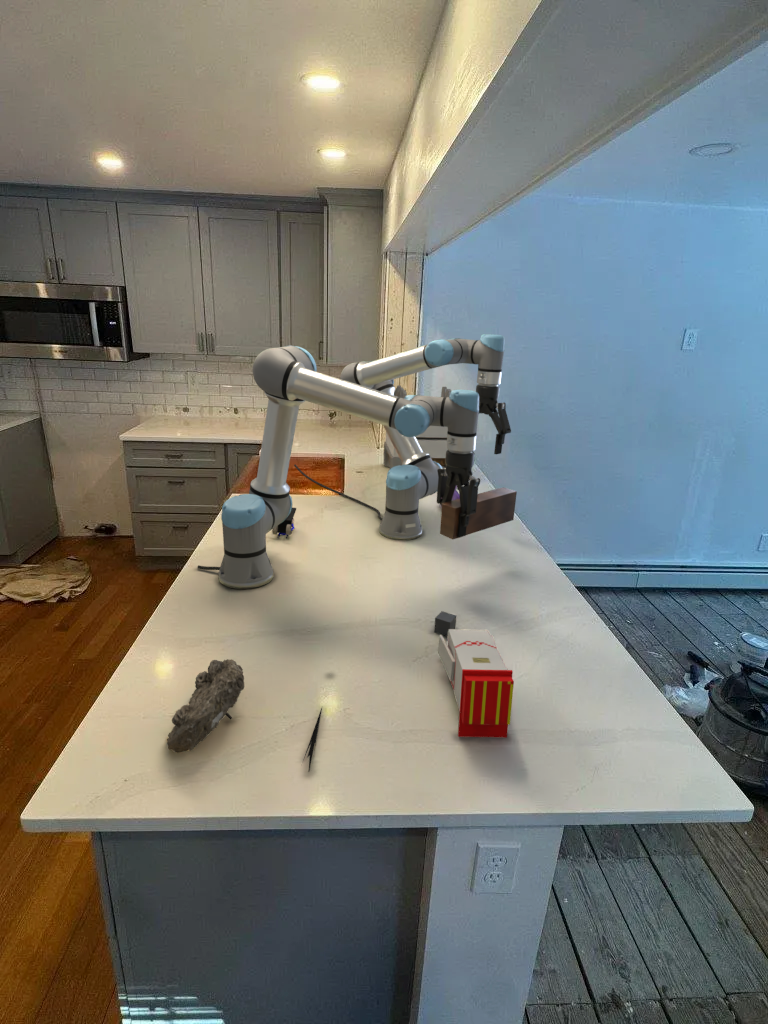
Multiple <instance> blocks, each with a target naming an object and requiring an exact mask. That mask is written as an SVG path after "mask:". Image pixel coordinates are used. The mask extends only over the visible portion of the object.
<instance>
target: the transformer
mask: <svg viewBox="0 0 768 1024" xmlns="http://www.w3.org/2000/svg"><path fill="white" fill-rule="evenodd" d="M451 391H452V389H451V388H447V386H442V387H441V392H440V393H441V394H440V397H449V396H450V393H451ZM407 394H408V393H407V390H406V389H404V388H403V387H402V385H399V384H398V385H397V386H396V387H395V391H394V396H397V397H399V398H403V399H404V398H405V397H406V396H407ZM447 432H448V427H441V426H429V427H428V428H427V429H426V430H425V432H423V433H422V434H420V435H418V436H415V437H416V439H417V441H418V443H419V445H420V447H421V449H422V451H423V452H424V453H427V454H429V455H430V457H431V459H432V461H435V462H436V463H439V464H440V465H441V466H442V468H446V466H447V465H446V463H445V458H446V451H447V450H448V449H447ZM398 465H401V466H402V461H401V459H400V458H399V456H398V454H397V452H396V450H395V448H394V446H393V444H392V442H391V440H390V438H389V436H388V434H387V432H386V431H385V438H384V442H383V466H384V467H388V468H389V470H390V469H391V468H392V467H395V466H398Z"/></svg>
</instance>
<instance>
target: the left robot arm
mask: <svg viewBox="0 0 768 1024" xmlns="http://www.w3.org/2000/svg"><path fill="white" fill-rule="evenodd" d="M316 363H317V362H316V360H315V358H314V357H313V355H312V354H311V353H310V352H309V351H308V350H307V349H306V348H303V347H301V346H297V345H291V344H289V345H285V346H279V347H269V348H267V349H264V350H263V351H261V352H260V353H258V355H257V356H256V357H255V359H254V361H253V363H252V376H253V380H254V382H255V384H256V385H257V386H258V387H259V389H260V390H262V391H263V393H264V395H265V396H266V398H267V400H268V402H267V407H266V413H265V414H266V415H265V420H264V428H263V434H262V441H261V446H260V447H261V448H260V454H259V462H258V467H257V474H256V477H255V478H254V479H252V480H251V481H250V484H249V491H248V493H242V494H239V495H234V496H231V497H230V498H228V499H226V500H225V501H224V502H223V504H222V507H221V516H220V517H221V524H222V525H221V526H222V541H223V542H222V543H223V557H222V560H221V562H220V566H203V565H197V567H196V568H197V569H198V570H202V571H203V570H204V571H218V581H219V583H220V584H221V585H223V586H225V587H227V588H230V589H234V590H235V589H236V590H249V589H256V588H260V587H263V586H265V585H267V584H268V583H270V582H271V581H272V580H273V578H274V568H273V565H272V561H271V558H270V556H269V554H268V552H267V534H268V533H270V531H272V530H273V528H275V527H276V526H278V525H279V524H280V523H282V522H283V521H284V520H285V519H286V518H287V517H288V515H289V514H290V512H291V509H292V508H293V497H292V496H291V494H290V491H291V487H290V485H289V484H288V483H287V479H288V473H289V467H290V462H291V456H292V451H293V444H294V439H295V433H296V429H297V421H298V416H299V410H300V406H301V404H303V403H305V402H308V403H312V404H315V405H317V406H318V405H319V406H321V407H324V408H328V409H331V410H333V411H337V412H341V413H342V414H343V413H344V414H347V415H350V416H353V417H356V418H359V419H363V420H365V421H369V422H372V423H374V424H375V423H376V424H379V425H382V426H383V425H385V426H388V427H391V428H394V429H397V431H398V432H399V433H400V434H402V435H403V436H405V437H415V436H418V435H420V434H422V433H423V432H425V430H426V429H427V428H428V427H429V426H441V427H448V432H447V449H448V450H447V451H446V458H445V463H446V465H447V466H446V468H441V469H438V470H437V471H438V477H439V478H438V490H437V492H436V504H438V505H439V506H440V505H441V507H442V503H445V502H449V501H452V497H453V494H454V491H455V487H456V485H457V489H456V490H457V491H458V493H459V496H460V505H461V514H459V519H458V531H457V537H458V538H457V539H459V538H463V537H466V536H467V535H466V527H467V526H468V524H469V515H471V514H475V513H476V508H477V496H478V494H479V486H480V485H481V482H482V481H481V478H480V477H478V478H477V477H475V476H474V473H473V467H474V466H475V455H476V454H475V452H474V451H476V447H477V445H476V443H477V432H478V423H479V415H480V413H479V394H478V393H477V392H476V390H471V389H453V390H451V393H450V396H449V397H441V396H433V395H421V394H408V395H407V396H406V397H405V398H404V399H403V398H399V397H397V396H394V395H390V394H387V393H384V392H381V391H377V390H374V389H371V388H368V387H364V386H361V385H358V384H355V383H351V382H348V381H345V380H342V379H340V378H338V377H334V376H332V375H328V374H325V373H321V372H319V371H318V370H317V364H316ZM441 498H442V499H441Z"/></svg>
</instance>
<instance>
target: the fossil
mask: <svg viewBox="0 0 768 1024" xmlns="http://www.w3.org/2000/svg"><path fill="white" fill-rule="evenodd" d="M243 670H244V669H243V667H242V665H240V664H237V662H236V661H235V660H234V659H232V658H231V659H227V658H226V659H224V660H223V661H222V660H217V659H212V660H211V661H210V663H209V665H208V666H207V671H201V672H199V673H198V674H197V675H196V676H195V680H194V684H195V685H194V687H195V689H194V690H193V693H192V694H191V697H190V698H189V700H188V704H184V705H182V706H181V707H180V709H177V710H176V711H175V713H174V715H173V716H172V718H171V723H172V724H173V727H172V730H171V731H170V732H168V734H167V738H166V741H167V742H166V745H167V749H168V750H169V751H173V752H174V753H176V754H178V753H182V752H188V751H189V752H192V751H193V750H195V748H196V747H197V746H199V744H200V743H201V742H203V741H204V740H205V739H206V738H207V737H208V736H209V735H210V734H211V733H212V732H214V730H215V729H217V727H218V726H219V724H220V722H221V721H222V720H223V719H224V718H225V716H226V717H227V719H229V720H233V717H232V715H230V714H229V710H230V709H231V708H234V706H235V704H236V703H237V702H238V699H239V697H240V695H241V693H242V691H243V690H245V689H244V688H245V675H244V671H243Z"/></svg>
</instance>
